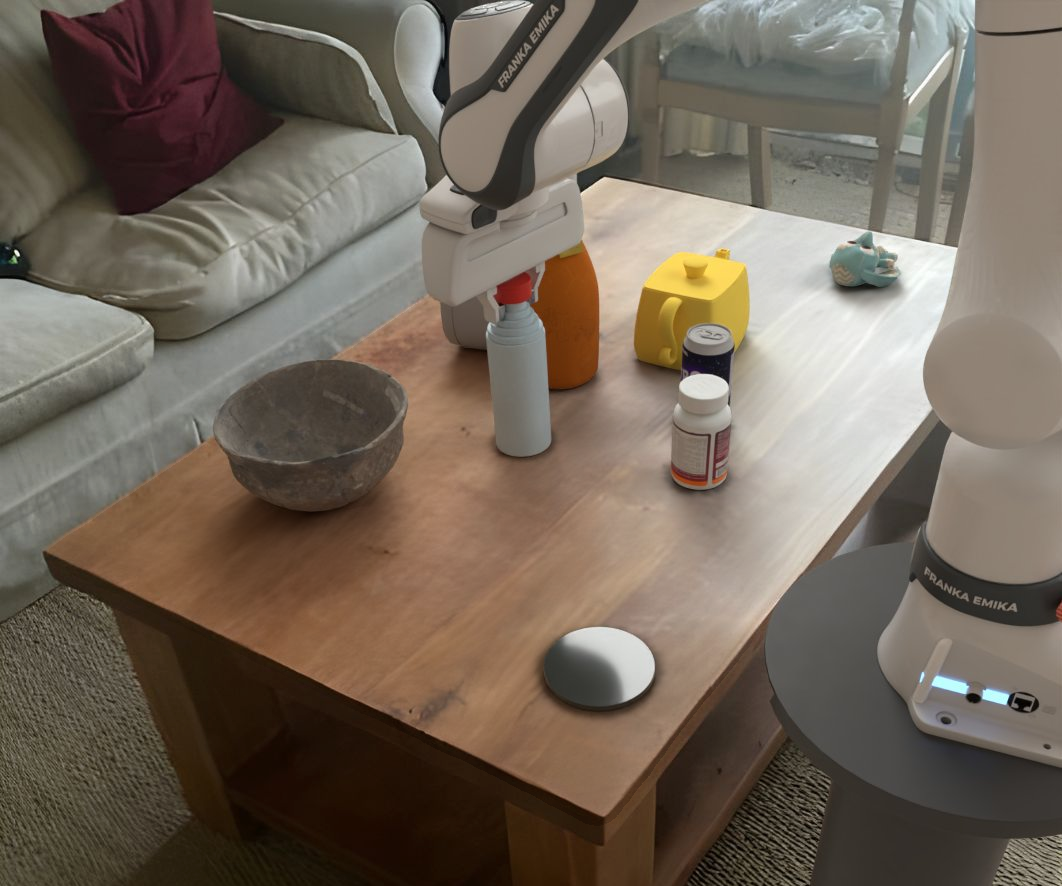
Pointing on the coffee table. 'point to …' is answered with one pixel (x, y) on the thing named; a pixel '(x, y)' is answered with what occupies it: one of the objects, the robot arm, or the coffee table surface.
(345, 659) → the coffee table surface
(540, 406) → the bottle
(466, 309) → the alarm clock
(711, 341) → the beverage can
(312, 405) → the bowl
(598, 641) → the coaster
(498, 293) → the cap
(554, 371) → the wine bottle
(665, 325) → the teapot
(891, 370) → the coffee table surface
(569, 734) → the coffee table surface
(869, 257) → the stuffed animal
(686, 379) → the pill bottle
